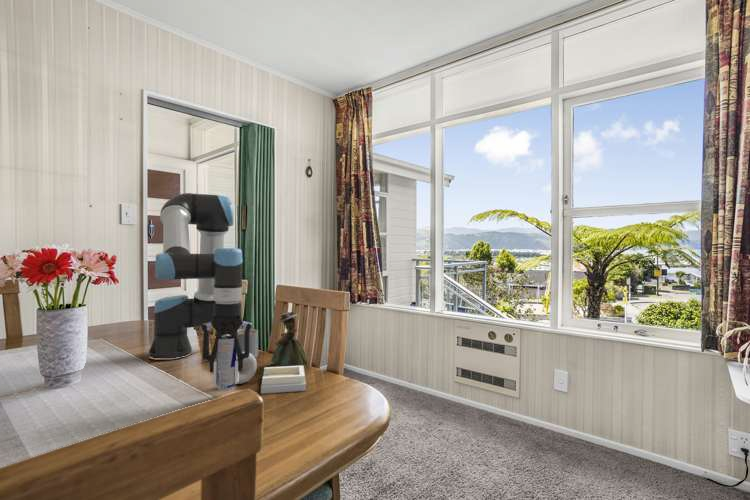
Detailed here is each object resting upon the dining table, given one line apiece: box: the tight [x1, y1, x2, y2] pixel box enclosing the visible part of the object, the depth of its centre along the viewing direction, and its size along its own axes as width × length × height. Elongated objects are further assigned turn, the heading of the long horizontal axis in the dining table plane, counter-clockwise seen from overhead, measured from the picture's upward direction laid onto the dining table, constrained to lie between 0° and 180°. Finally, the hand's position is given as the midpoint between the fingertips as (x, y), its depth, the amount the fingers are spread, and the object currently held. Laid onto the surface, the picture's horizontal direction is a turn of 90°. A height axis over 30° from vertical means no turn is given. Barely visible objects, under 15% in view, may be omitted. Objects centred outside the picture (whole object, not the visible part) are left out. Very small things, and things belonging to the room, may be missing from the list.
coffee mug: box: [237, 328, 259, 358], centre depth 151 cm, size 13×10×10 cm
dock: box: [260, 365, 307, 394], centre depth 123 cm, size 16×13×4 cm
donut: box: [236, 352, 258, 385], centre depth 122 cm, size 10×4×10 cm, turn 135°
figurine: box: [271, 311, 309, 367], centre depth 141 cm, size 14×14×20 cm
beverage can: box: [216, 334, 237, 392], centre depth 111 cm, size 5×5×15 cm
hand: (226, 382), depth 111 cm, fingers closed on beverage can, 5 cm apart
